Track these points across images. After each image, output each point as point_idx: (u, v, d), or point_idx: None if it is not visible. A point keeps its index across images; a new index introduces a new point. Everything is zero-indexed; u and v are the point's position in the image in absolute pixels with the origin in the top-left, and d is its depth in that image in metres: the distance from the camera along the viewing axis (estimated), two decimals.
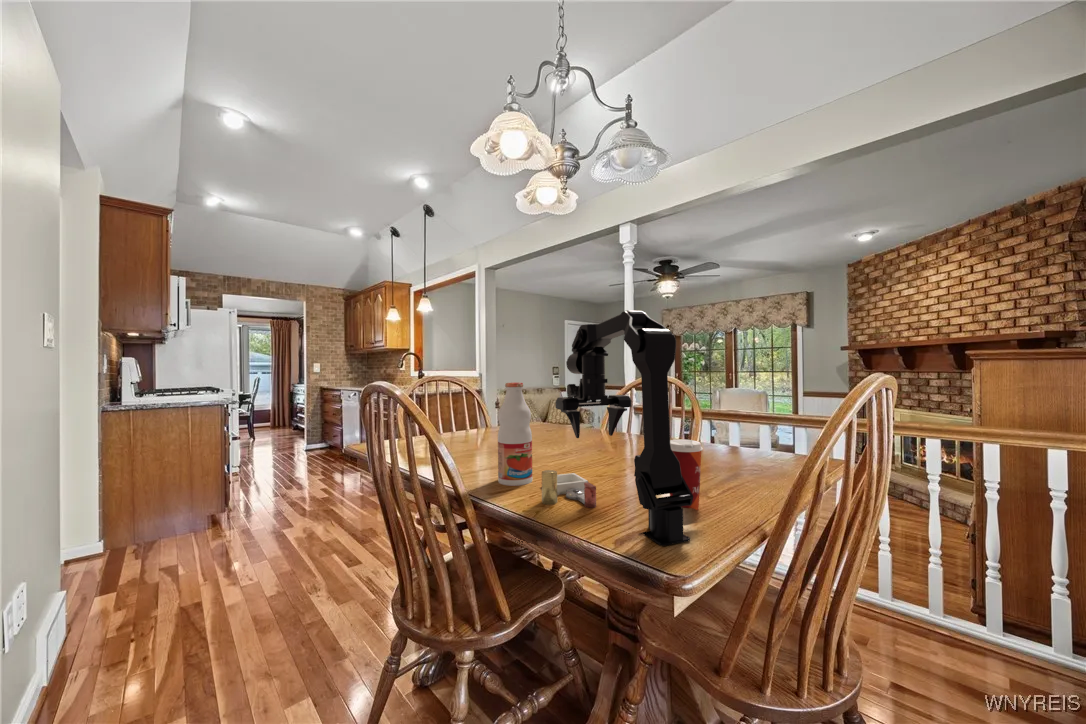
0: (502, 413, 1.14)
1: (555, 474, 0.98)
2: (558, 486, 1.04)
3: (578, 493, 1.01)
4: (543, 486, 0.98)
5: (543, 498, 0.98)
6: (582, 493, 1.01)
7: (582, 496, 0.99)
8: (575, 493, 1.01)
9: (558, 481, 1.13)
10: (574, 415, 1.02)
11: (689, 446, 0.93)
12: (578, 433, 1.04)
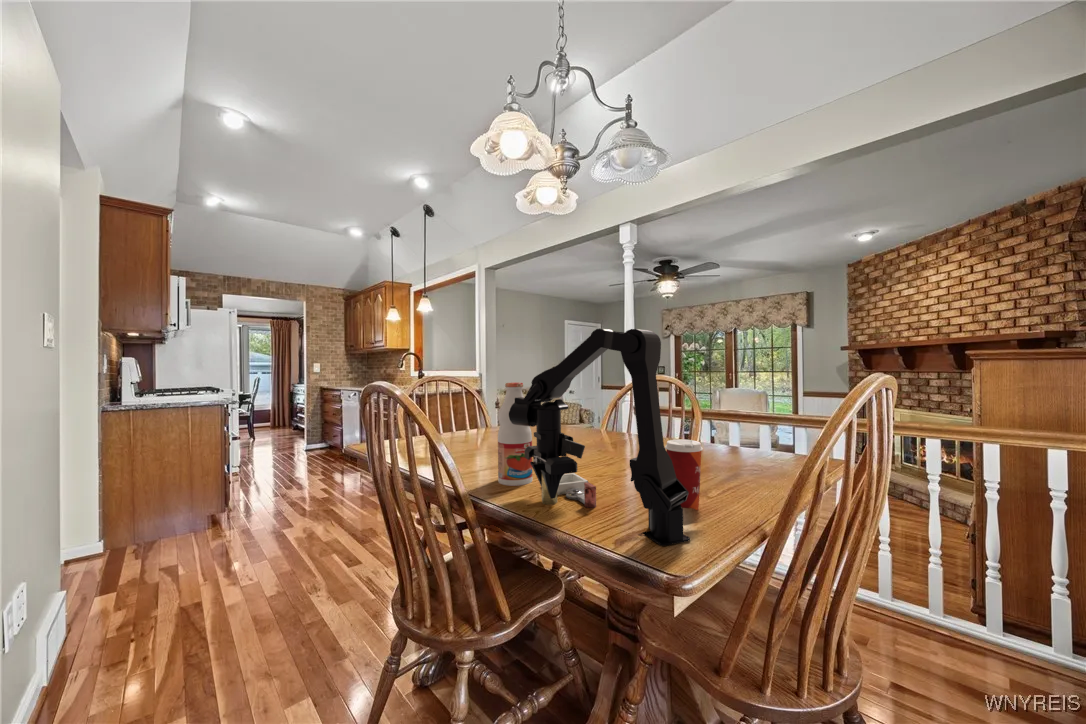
0: (502, 413, 1.14)
1: None
2: None
3: (578, 493, 1.01)
4: (543, 486, 0.98)
5: (543, 498, 0.98)
6: (582, 493, 1.01)
7: (582, 496, 0.99)
8: (575, 493, 1.01)
9: None
10: None
11: (689, 446, 0.93)
12: None
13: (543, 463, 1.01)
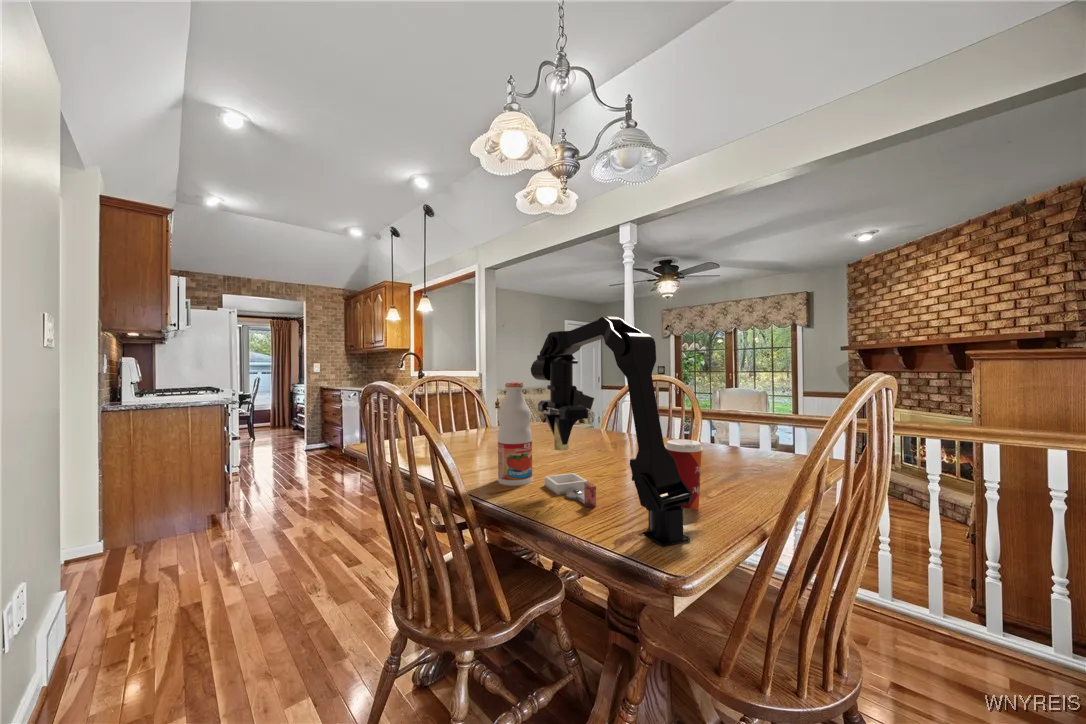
0: (502, 413, 1.14)
1: None
2: (558, 486, 1.04)
3: (578, 493, 1.01)
4: (555, 434, 1.07)
5: (556, 445, 1.07)
6: (582, 493, 1.01)
7: (582, 496, 0.99)
8: (575, 493, 1.01)
9: (558, 481, 1.13)
10: None
11: (689, 446, 0.93)
12: None
13: (555, 414, 1.10)
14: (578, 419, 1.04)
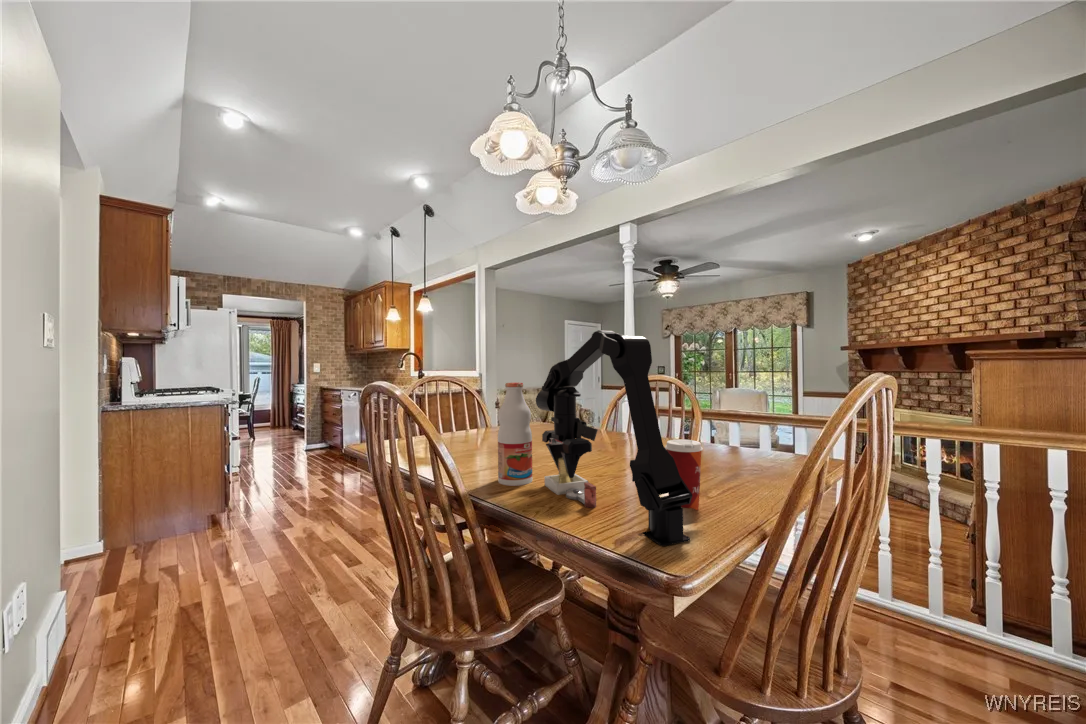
0: (502, 413, 1.14)
1: None
2: (558, 486, 1.04)
3: (578, 493, 1.01)
4: (560, 471, 1.08)
5: (560, 482, 1.08)
6: (582, 493, 1.01)
7: (582, 496, 0.99)
8: (575, 493, 1.01)
9: (558, 481, 1.13)
10: (548, 448, 1.14)
11: (689, 446, 0.93)
12: (556, 466, 1.13)
13: (557, 444, 1.13)
14: (584, 453, 1.04)
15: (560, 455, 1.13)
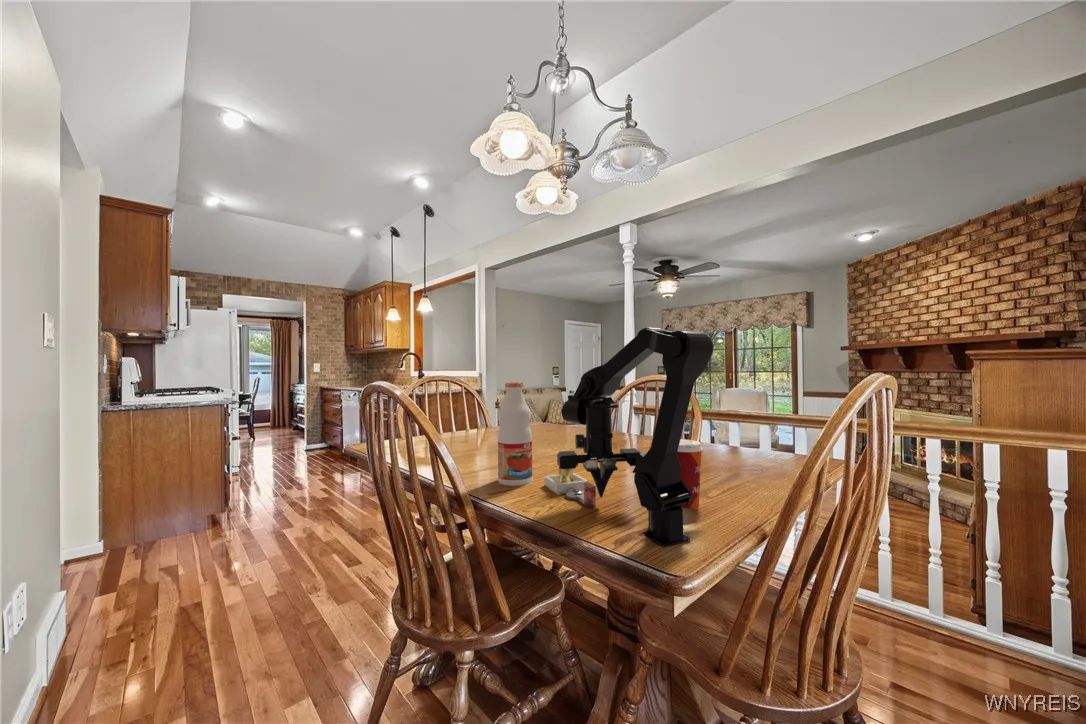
0: (502, 413, 1.14)
1: None
2: (558, 486, 1.04)
3: (578, 493, 1.01)
4: (560, 471, 1.08)
5: (561, 482, 1.08)
6: (582, 493, 1.01)
7: (582, 496, 0.99)
8: (575, 493, 1.01)
9: (558, 481, 1.13)
10: (594, 473, 0.93)
11: (689, 446, 0.93)
12: (600, 492, 0.95)
13: None
14: None
15: None
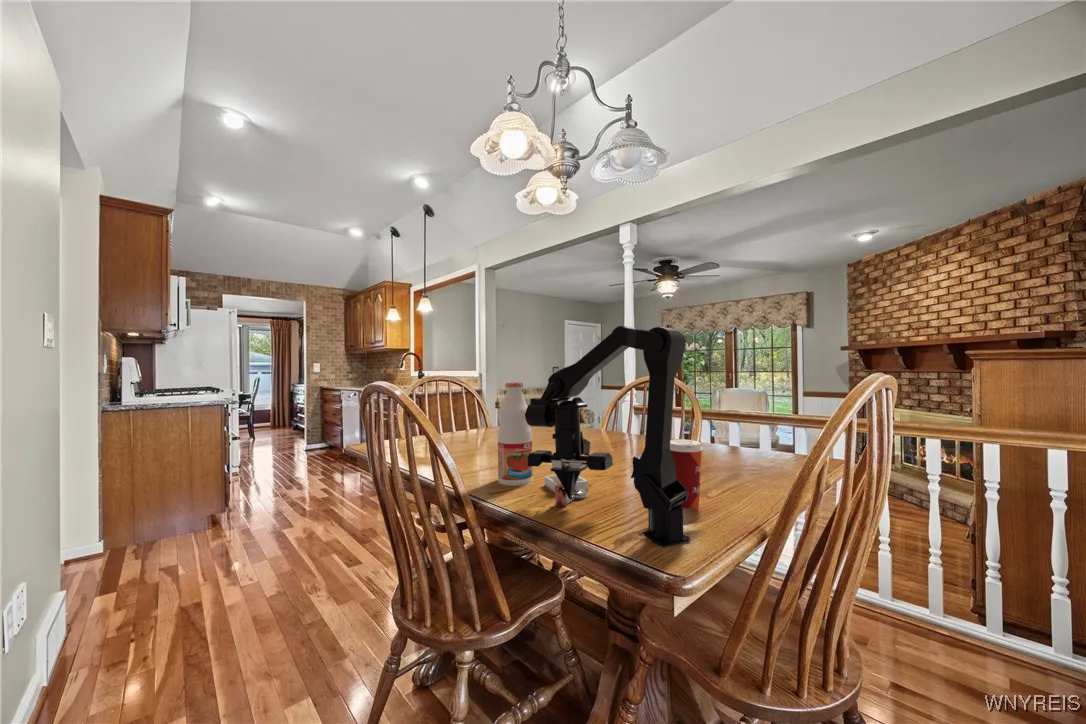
0: (502, 413, 1.14)
1: None
2: None
3: None
4: None
5: None
6: (574, 494, 1.00)
7: (567, 496, 0.99)
8: None
9: (558, 481, 1.13)
10: (556, 473, 0.93)
11: (689, 446, 0.93)
12: (567, 493, 0.94)
13: (565, 467, 0.95)
14: (586, 467, 0.95)
15: None
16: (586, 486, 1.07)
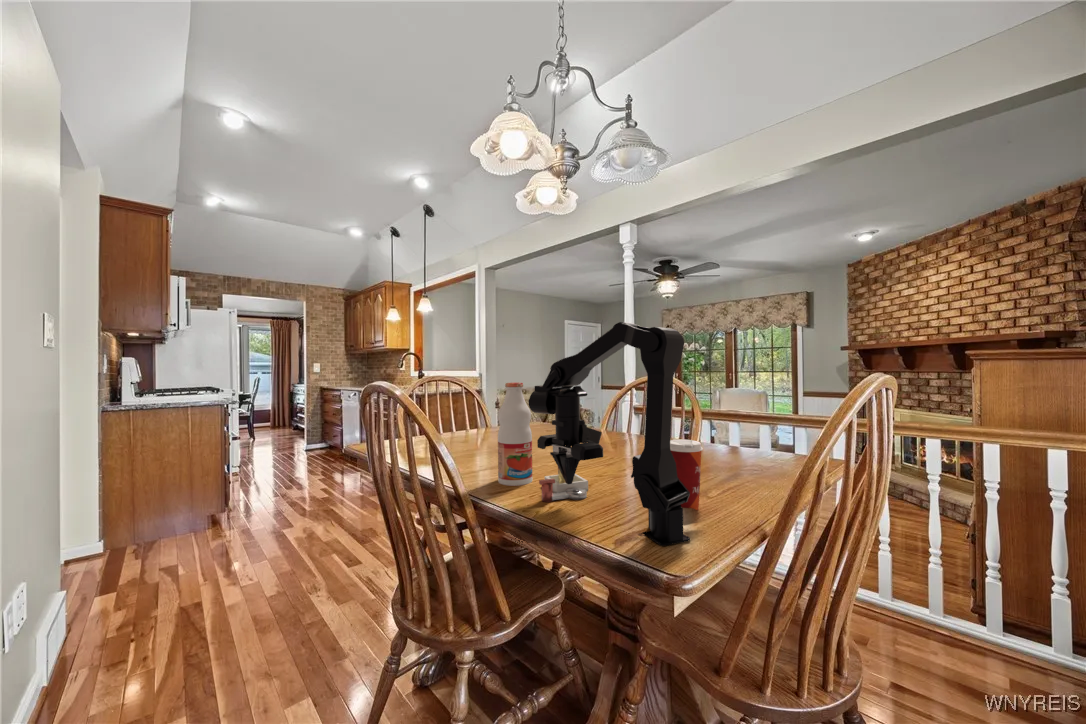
0: (502, 413, 1.14)
1: None
2: (558, 486, 1.04)
3: (569, 492, 1.02)
4: None
5: (562, 482, 1.08)
6: (569, 493, 1.01)
7: (561, 493, 1.01)
8: (568, 491, 1.03)
9: (558, 481, 1.13)
10: (553, 457, 0.98)
11: (689, 446, 0.93)
12: (564, 478, 0.98)
13: (564, 453, 0.99)
14: None
15: None
16: (586, 486, 1.07)
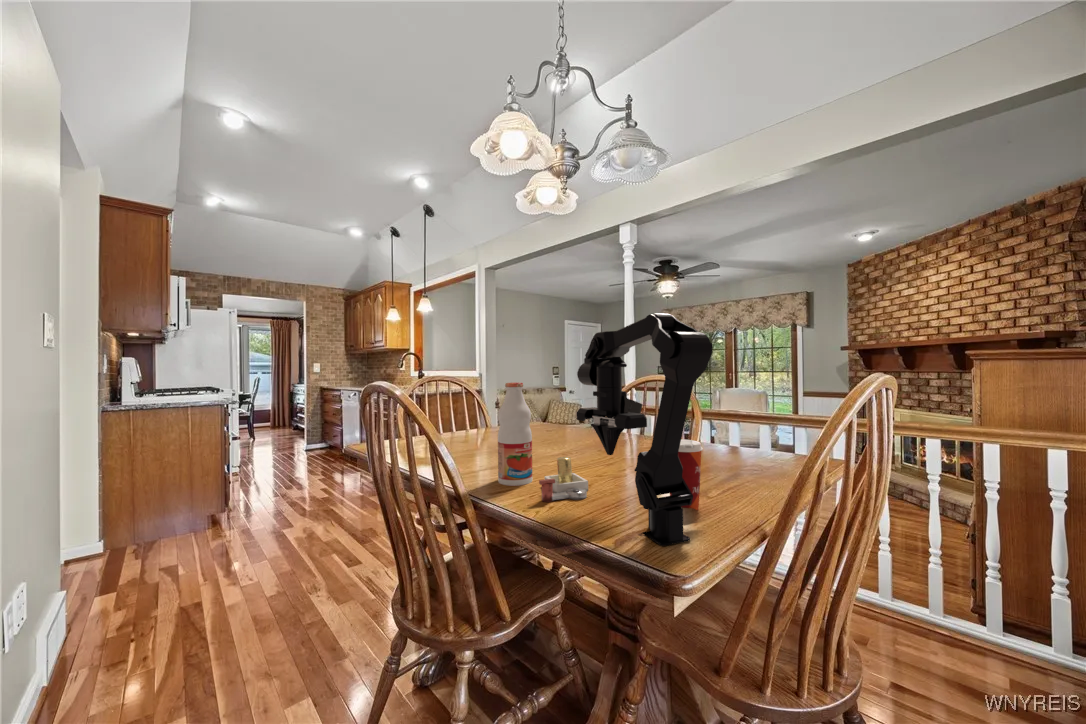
0: (502, 413, 1.14)
1: (570, 458, 1.10)
2: (558, 486, 1.04)
3: (569, 492, 1.02)
4: (562, 471, 1.08)
5: (563, 482, 1.08)
6: (569, 493, 1.01)
7: (561, 493, 1.01)
8: (568, 491, 1.03)
9: (558, 481, 1.13)
10: (594, 428, 0.98)
11: (689, 446, 0.93)
12: (605, 449, 0.98)
13: (605, 424, 0.99)
14: None
15: None
16: (586, 486, 1.07)
